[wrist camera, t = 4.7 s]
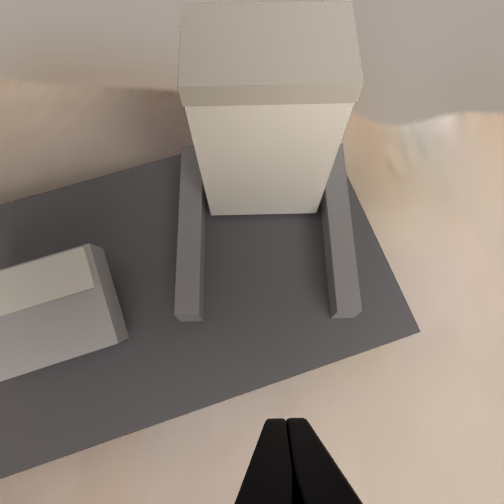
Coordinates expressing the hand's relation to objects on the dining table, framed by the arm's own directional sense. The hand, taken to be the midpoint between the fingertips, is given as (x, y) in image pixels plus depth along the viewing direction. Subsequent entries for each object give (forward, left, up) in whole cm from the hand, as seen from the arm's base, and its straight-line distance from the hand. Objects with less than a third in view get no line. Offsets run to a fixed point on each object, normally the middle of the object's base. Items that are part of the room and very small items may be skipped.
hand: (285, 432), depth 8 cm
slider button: (+10, -1, -8) cm, 13 cm away
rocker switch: (+5, +9, -8) cm, 13 cm away
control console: (+5, +9, -10) cm, 14 cm away
